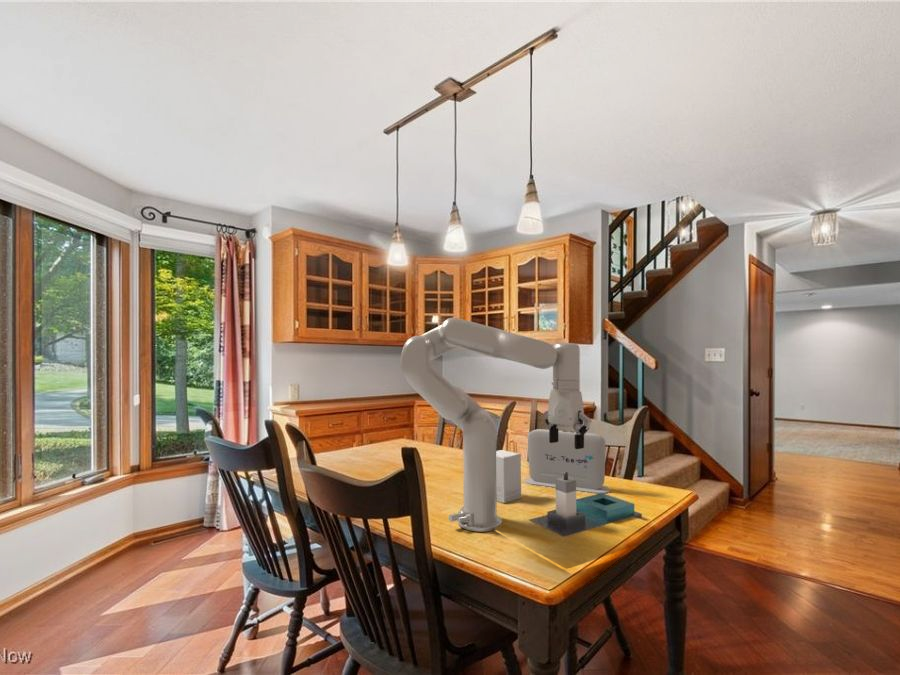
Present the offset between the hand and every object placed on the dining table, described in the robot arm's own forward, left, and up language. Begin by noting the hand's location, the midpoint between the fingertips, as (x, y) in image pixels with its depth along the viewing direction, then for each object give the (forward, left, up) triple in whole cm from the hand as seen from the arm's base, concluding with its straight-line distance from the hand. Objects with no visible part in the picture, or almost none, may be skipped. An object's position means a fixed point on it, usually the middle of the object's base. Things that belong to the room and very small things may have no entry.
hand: (566, 445), depth 131 cm
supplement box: (-1, +28, -23) cm, 36 cm away
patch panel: (+7, -1, -22) cm, 23 cm away
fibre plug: (-1, -1, -21) cm, 21 cm away
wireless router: (+27, +27, -23) cm, 45 cm away
